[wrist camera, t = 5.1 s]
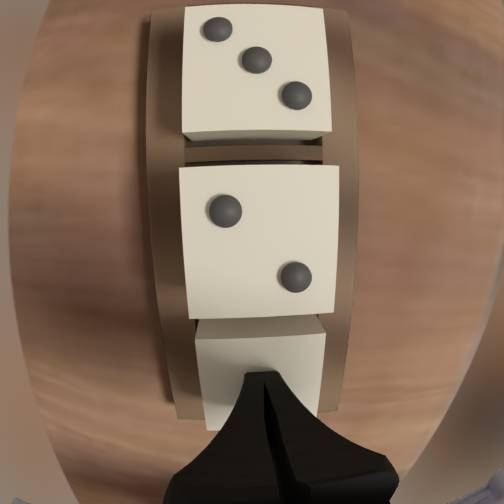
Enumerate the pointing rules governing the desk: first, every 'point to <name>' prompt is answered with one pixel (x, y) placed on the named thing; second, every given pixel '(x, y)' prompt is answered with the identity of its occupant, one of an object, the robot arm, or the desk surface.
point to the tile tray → (241, 153)
